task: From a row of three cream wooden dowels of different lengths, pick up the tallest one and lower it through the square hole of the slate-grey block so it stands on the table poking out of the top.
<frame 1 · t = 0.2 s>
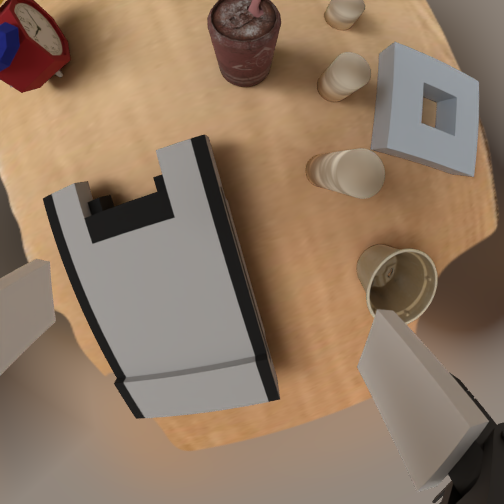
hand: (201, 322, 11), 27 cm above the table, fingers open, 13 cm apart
dowel short: (338, 18, 30), on the table
hole block: (420, 113, 34), on the table
dowel long: (321, 170, 36), on the table
game console: (171, 282, 40), on the table
can: (245, 65, 32), on the table
flower pot: (375, 265, 39), on the table
alarm clock: (48, 59, 30), on the table
dowel medium: (332, 87, 33), on the table
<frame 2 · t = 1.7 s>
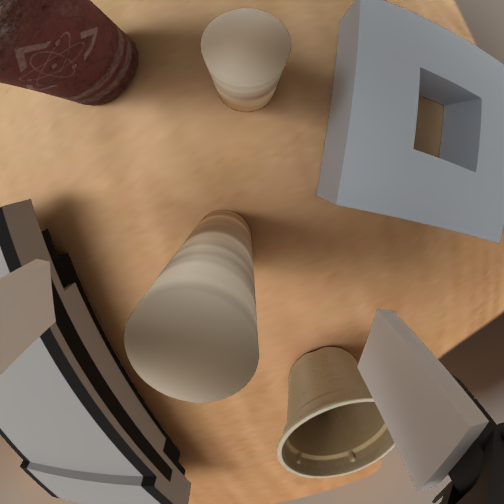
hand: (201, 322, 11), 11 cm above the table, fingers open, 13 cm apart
hole block: (414, 126, 20), on the table
dowel long: (223, 238, 22), on the table
game console: (54, 369, 26), on the table
can: (105, 68, 18), on the table
flower pot: (321, 372, 26), on the table
dowel medium: (246, 85, 19), on the table
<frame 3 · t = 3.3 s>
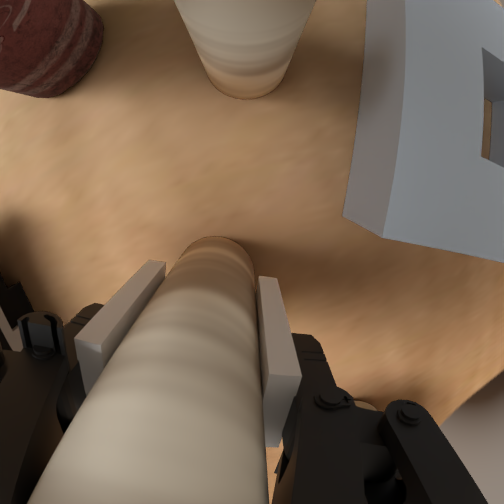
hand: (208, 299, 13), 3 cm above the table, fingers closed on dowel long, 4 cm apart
hole block: (462, 125, 14), on the table
dowel long: (215, 274, 16), on the table, touching gripper
game console: (29, 409, 20), on the table
can: (65, 51, 12), on the table
dowel medium: (246, 63, 13), on the table
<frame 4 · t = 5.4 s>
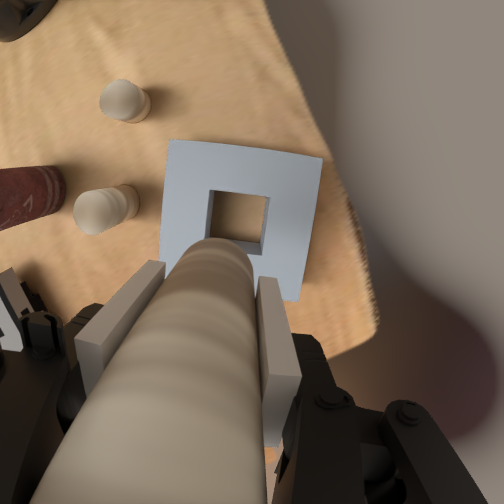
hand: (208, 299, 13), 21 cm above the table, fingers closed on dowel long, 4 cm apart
dowel short: (134, 106, 29), on the table
hole block: (237, 215, 33), on the table
dowel long: (215, 275, 16), point 18 cm above the table, touching gripper
game console: (43, 366, 39), on the table
can: (50, 188, 31), on the table
dowel medium: (123, 202, 32), on the table
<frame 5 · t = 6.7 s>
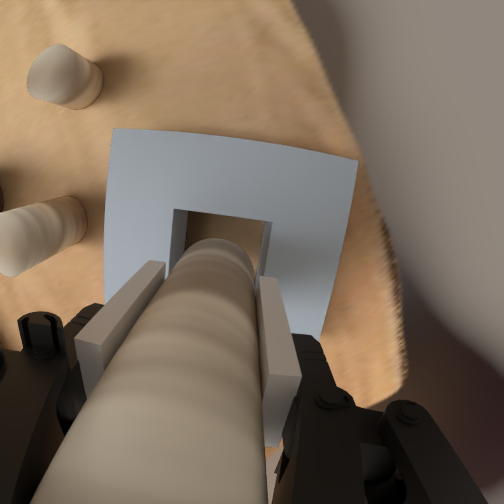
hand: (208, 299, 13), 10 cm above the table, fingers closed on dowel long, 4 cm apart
dowel short: (82, 86, 18), on the table
hole block: (223, 241, 22), on the table
dowel long: (215, 275, 16), point 7 cm above the table, touching gripper
dowel medium: (67, 220, 21), on the table
when the fingers open (6 cm above the table, at t = 7.7 s): dowel long drops 2 cm, resting in hole block.
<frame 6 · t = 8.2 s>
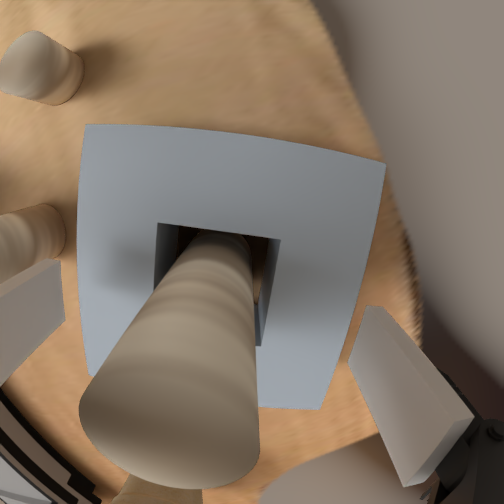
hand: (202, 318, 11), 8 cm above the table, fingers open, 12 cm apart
dowel short: (60, 78, 15), on the table
hole block: (220, 258, 19), on the table
dowel long: (219, 258, 19), resting in hole block
flower pot: (170, 460, 25), on the table
dowel medium: (44, 231, 18), on the table
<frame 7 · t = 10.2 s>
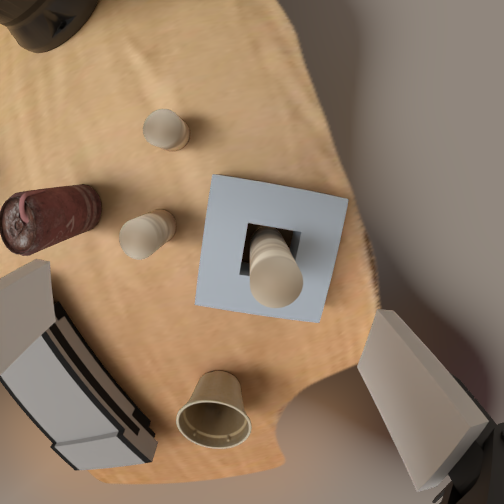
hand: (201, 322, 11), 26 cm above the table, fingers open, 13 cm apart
dowel short: (173, 134, 33), on the table
hole block: (267, 243, 36), on the table
dowel long: (266, 243, 36), resting in hole block
game console: (66, 373, 42), on the table
can: (84, 206, 35), on the table
flower pot: (218, 385, 42), on the table
dowel medium: (160, 225, 36), on the table
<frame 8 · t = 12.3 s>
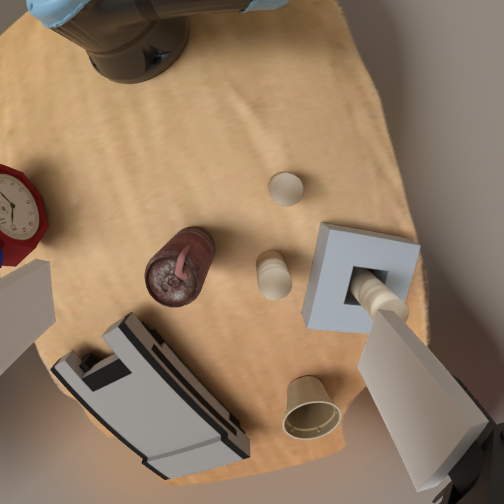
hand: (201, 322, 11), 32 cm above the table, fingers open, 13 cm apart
dowel short: (283, 186, 41), on the table
hole block: (355, 275, 44), on the table
dowel long: (354, 275, 44), resting in hole block
game console: (156, 392, 50), on the table
can: (194, 246, 43), on the table
flower pot: (304, 387, 50), on the table
alarm clock: (29, 210, 41), on the table
dowel medium: (270, 264, 44), on the table
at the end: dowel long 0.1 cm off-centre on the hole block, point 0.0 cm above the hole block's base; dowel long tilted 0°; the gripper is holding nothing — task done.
